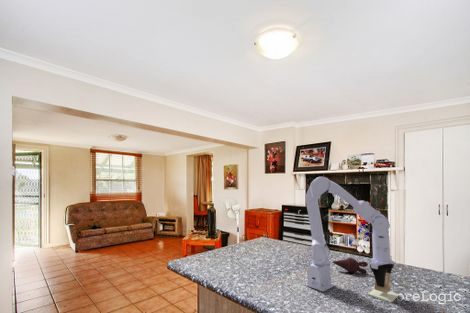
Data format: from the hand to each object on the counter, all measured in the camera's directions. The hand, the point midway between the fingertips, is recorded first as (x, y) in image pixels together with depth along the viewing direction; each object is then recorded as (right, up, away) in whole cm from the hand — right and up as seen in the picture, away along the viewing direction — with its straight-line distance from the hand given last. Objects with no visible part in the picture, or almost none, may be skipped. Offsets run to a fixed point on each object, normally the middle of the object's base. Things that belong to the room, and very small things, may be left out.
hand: (382, 284), depth 96 cm
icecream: (-2, -6, +24) cm, 25 cm away
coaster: (0, -4, 0) cm, 4 cm away
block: (0, -2, 0) cm, 2 cm away
